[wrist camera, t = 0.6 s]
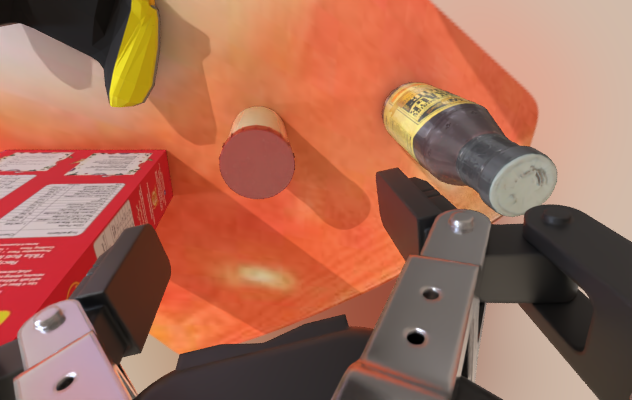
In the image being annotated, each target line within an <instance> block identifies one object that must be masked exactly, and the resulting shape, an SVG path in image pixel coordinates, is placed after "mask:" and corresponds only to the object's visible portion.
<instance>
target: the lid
mask: <svg viewBox="0 0 632 400" xmlns="http://www.w3.org/2000/svg"><path fill="white" fill-rule="evenodd" d="M222 147H223V149H222V152H221V154H220V157H219V160H220V164H219V165H220V172H221V175H222V177H223V179H224V181H225V182H226V184H227V185H228V186H229V187H230V188H231V189H232V190H233V191H234V192H236V193H238V194H239V195H241V196H244V197H247V198H251V199H264V198H269V197H272V196H274V195H276V194H278V193H280V192H281V191H282V190H284V189H285V188H286V187H287V185H288V184H289V183H290V181H291V179H292V177H293V173H294V170H295V161H294V158H295V156H294V153H293V152H292V149H291V146H290V142H288V141H287V140H286V138H285V137H284V136H283V135H282V133H281V132H280V133H279V132H278V131H276V130H274V129H272V128H270V126H269V127H267V126H262V125H257V124H255V125H251V126H246V127H244V126H243V127H242V128H241V129H239V130H237V131H235V132H234V133H231V136H230V137H229V138H228V139H227V141H226V142H225V143H224V144H223V146H222Z"/></svg>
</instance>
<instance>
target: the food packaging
mask: <svg viewBox="0 0 632 400" xmlns="http://www.w3.org/2000/svg"><path fill="white" fill-rule="evenodd" d="M172 197H173V193H172V186H171V180H170V173H169V167H168V160H167V154H166V150H5V151H3V152H1V153H0V346H1V345H3V344H6V343H8V342H10V341H13V340H15V339H17V334H18V331H19V329H20V328H21V327H22V325H23V324H24V323H25V322H26V321H27V320H28V319H29V318H30V317H32V316H33V315H34V314H36V313H37V312H39V311H40V310H42V309H44V308H46V307H48V306H50V305H52V304H54V303H57V302H59V301H63V300H68V298H69V297H70V295H71V294H72V293H73V291H74V290H75V289H76V287H77V286H78V285H79V283H80V282H81V281H82V279H83V278H84V277H85V276H86V274H87V273H88V271H89V270H90V269H91V268H93V264H94V263H95V262H96V260H97V259H98V258H99V256H100V255H102V254H103V253H104V252H105V251H106V250H108V249H109V248H110V247H111V246H113V245H114V243H115V242H116V240H117V239H118V238H119V236H120V235H121V233H122V232H123V231H124V229H126V228H130V227H134V226H139V225H143V224H151V225H152V226H153V228H154V229H156V227H157V225H158V223H159V221H160V219H161V218H162V216H163V214H164V212H165V210H166V208H167V206H168V205H169V203H170V201H171V199H172Z"/></svg>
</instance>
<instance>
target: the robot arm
mask: <svg viewBox="0 0 632 400" xmlns="http://www.w3.org/2000/svg"><path fill="white" fill-rule="evenodd" d="M376 184H377V193H378V202H379V211H380V216H381V220H382V223H383V226H384V228H385V229H386V231H387V232H388V234H389V236H390V237H391V239H392V240H393V242H394V244H395V245H396V247H397V248H398V250H399V252H400V253H401V255H402V256H403V258H404V260H405V261H406V262H405V264H404V266H403V269H402V271H401V273H400V275H399V277H398V279H397V281H396V283H395V286H394V288H393V290H392V292H391V294H390V296H389V298H388V300H387V302H386V304H385V307H384V309H383V311H382V313H381V315H380V317H379V319H378V322H377V323H376V326H375V328H374V329H371V328H365V327H349V326H348V323H347V320H346V316H345V315H340V316H336V317H331V318H327V319H323V320H320V321H315V322H311V323H307V324H304V325H302V326H299V327H298V328H296V329H293V330H291V331H289V332H287V333H284V334H282V335H280V336H278V337H276V338H274V339H271V340H269V341H267V342H264V343H258V344H257V343H256V344H220V345H216V346H212V347H208V348H204V349H200V350H196V351H192V352H188V353H183V354H180V355H179V359H178V363H177V366H176V370H174V371H172V372H170V373H168V374H166V375H165V376H163V377H161V378H160V379H158V380H157V381H155V382H154V383H152V384H151V385H150V386H148V387H147V388H146V389H144V390H143V391H142V392H141V393H140V394H139V395H138V393H137V391H136V390H135V388H134V386H133V385H132V383H131V381H130V379H129V377H128V376H127V374H126V372H125V370H124V369H123V368H122V366H121V364H120V361H121V359H122V357H126V356H130V355H135V354H138V353H141V351H142V349H143V346H144V344H145V341H146V339H147V336H148V333H149V331H150V328H151V326H152V323H153V321H154V318H155V315H156V313H157V310H158V308H159V305H160V302H161V300H162V297H163V295H164V292H165V289H166V287H167V284H168V282H169V279H170V276H171V266H170V262H169V259H168V257H167V255H166V253H165V251H164V248H163V246H162V244H161V242H160V240H159V238H158V236H157V233H156V231H155V229H154V228H153V226H152V225H151V224H143V225H139V226H134V227H130V228H126V229H124V231H123V232H122V233H121V235H120V236H119V238H118V239H117V240H116V242H115V243H114V245H113V246H111V247H110V248H109V249H108V250H106V251H105V252H104V253H103V254H102V255H100V256H99V258H98V259H97V260H96V262H95V263H94V264H93V268H91V269H90V270H89V271H88V273H87V274H86V276H85V277H84V278H83V279H82V281H81V282H80V283H79V285H78V286H77V287H76V289H75V290H74V291H73V293H72V294H71V295H70V297H69V298H68V300H63V301H59V302H57V303H54V304H52V305H50V306H48V307H46V308H44V309H42V310H40V311H39V312H37V313H36V314H34V315H33V316H32V317H30V318H29V319H28V320H27V321H26V322H25V323H24V324H23V325H22V327H21V328H20V329H19V331H18V334H17V339H15V340H13V341H10V342H8V343H6V344H3V345H1V346H0V400H503V399H501V398H499V397H497V396H496V395H494V394H492V393H491V392H489V391H487V390H485V389H484V388H482V387H480V386H479V385H477V384H475V378H476V368H477V359H478V352H479V346H480V340H481V334H482V328H483V322H484V315H485V309H486V303H518V304H519V305H520V307H521V308H522V309H523V310H524V311H525V312H526V314H527V315H528V316H529V317H530V318H531V319H532V321H533V322H534V323H535V324H536V325H537V327H538V328H539V329H540V330H541V331H542V333H543V334H544V335H545V336H546V337H547V338H548V340H549V341H550V342H551V343H552V344H553V345H554V347H555V348H556V349H557V350H558V351H559V352H560V354H561V355H562V356H563V357H564V358H565V360H566V361H567V362H568V363H569V364H570V365H571V367H572V368H573V369H574V370H575V371H576V373H578V375H579V376H580V377H581V379H582V380H583V381H584V382H585V383H586V384H587V386H588V387H589V388H590V389H591V390H592V391H593V393H594V394H595V395H596V396H597V397H598V399H599V400H632V242H631V241H629V240H627V239H626V238H624V237H623V236H621V235H619V234H617V233H616V232H614V231H613V230H611V229H609V228H608V227H606V226H605V225H603V224H601V223H600V222H598V221H596V220H595V219H593V218H592V217H590V216H588V215H587V214H585V213H583V212H581V211H579V210H577V209H574V208H571V207H567V206H562V205H539V206H535V207H532V208H530V209H528V210H527V211H526V212H525V214H524V223H523V224H505V225H494V224H491V222H490V220H489V218H488V217H487V216H485V215H484V214H482V213H480V212H477V211H473V210H467V209H457V208H456V207H455V206H454V205H452V204H451V203H450V202H449V201H448V200H447V199H446V198H445V197H444V196H442V195H440V193H439V192H438V191H437V190H436V189H435V190H434V187H432V186H431V185H430V184H429V183H428V182H427V181H424V180H421V179H419V178H416V177H413V178H408V177H407V176H406V175H405V174H404V173H403V172H402V171H401V170H400V169H399V168H393V169H388V170H384V171H379V172H377V173H376ZM578 286H579V287H581V288H582V289H583V290H584V291H585V292H586V294H587V295H588V297H589V298H587V297H586V296H585V295H584V294H583V293H582V292H581V291H580V290H579V289H578Z"/></svg>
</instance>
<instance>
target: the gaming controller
mask: <svg viewBox="0 0 632 400" xmlns="http://www.w3.org/2000/svg"><path fill="white" fill-rule="evenodd" d="M17 23H22V24H25V25H27V26H30V27H32V28H34V29H36V30H38V31H40V32H42V33H44V34H46V35H49V36H51V37H53V38H55V39H57V40H59V41H61V42H63V43H65V44H67V45H69V46H71V47H73V48H75V49H77V50H79V51H81V52H83V53H85V54H87V55H89V56H91V57H92V58H94V59H96V60H97V61H99V63H100V64H101V66H102V67H103V68H104V77H105V86H106V90H107V95H108V99H109V103H110V106H112V107H128V106H136V105H138V104H141V103H144V102H145V101H146V99H147V98H148V96H149V94H150V92H151V90H152V88H153V87H154V85H155V79H156V72H157V65H158V58H159V52H160V16H159V11H158V9H157V8H156V7H155V0H0V27H1V26H6V25H11V24H17Z"/></svg>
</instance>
